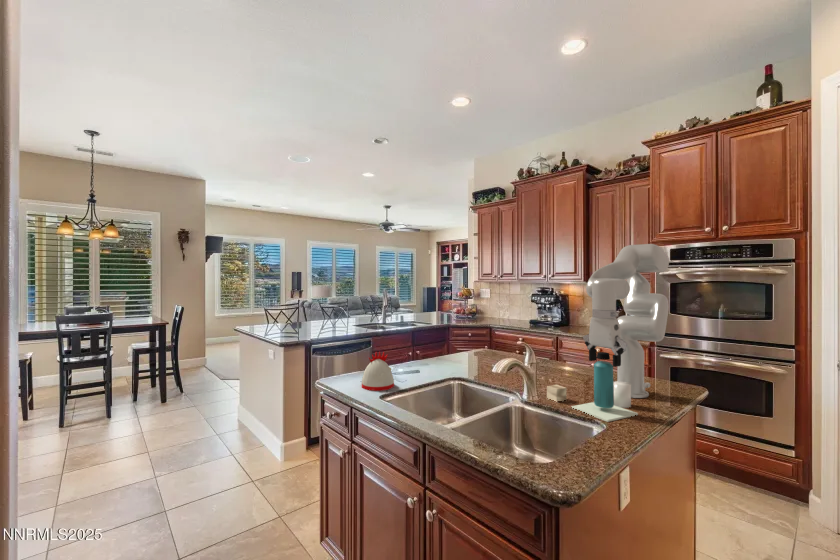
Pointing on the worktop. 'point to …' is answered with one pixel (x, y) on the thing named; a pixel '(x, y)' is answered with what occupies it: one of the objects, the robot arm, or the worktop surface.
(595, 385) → the beverage bottle
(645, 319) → the robot arm
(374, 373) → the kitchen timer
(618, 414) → the sage mat
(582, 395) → the worktop surface
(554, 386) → the birch block
